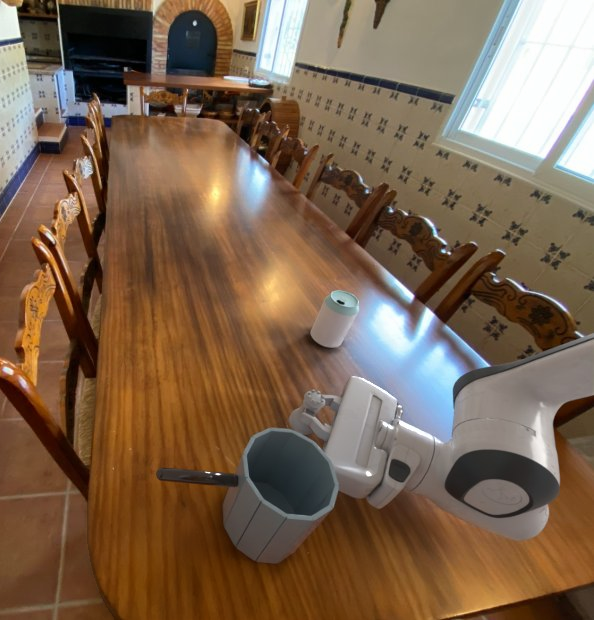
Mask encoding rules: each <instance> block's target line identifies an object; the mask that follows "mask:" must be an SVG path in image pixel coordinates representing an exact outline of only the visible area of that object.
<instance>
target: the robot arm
mask: <svg viewBox="0 0 594 620" xmlns="http://www.w3.org/2000/svg"><path fill="white" fill-rule="evenodd" d="M323 395H324V399H325V405H324V406H328V409H329V410H331V411H333V412H334V414H333V417H332V420H331V423H330V425H329V424H328V423H324V424H323V423H321V421H320V420H319V419H318V418H317V417H316V418H315V412H313V411H310V410H309V409H307V408H304V409H303V411H302V413H301V416H300V418H299V419H300V421H302V422H304V423H305V424H307V425H309V426H310V428H311V429H312V430H313V431H314V432H313V433H314V434H315V435H316V437H317V438H319V439H321V440H323V441H324V443H323V445H322V446H323V447H322V448H321V450H322V451H323V452H324V453H325V454H326V455H327V457H328V458H329V459H330V460H331V462H332V464H333V467H334V470H335V474H336V477H337V480H338V483H339V490H338V492H340V493H342V494H344V495H347V496H349V497H351V498H354V499H360V500H362V499H365V500H366V502H367V503H368V504H369V505H370V506H371V507H373V508H375V509H378V510H380V509H383V508H384V507H386V506H387V505H388V504H390V502H392V501H393V500H394V499H395V498H396V497H397V496H398V495H399V494H400V492H401V491H402V490H403V489H404V490H405V491H407V492H409V493H411V494H413V495H414V494H415V495H418V496H421V497H424V498H426V499H428V500H429V501H430V502H432V503H433V504H434V505H435V506H436V507H437V508H439V509H440V510H441V511H444V512H446V513H448V514H450V515H452V517H455V518H457V519H459V520H461V521H462V522H465V523H467V524H470V525H471V526H473V527H476V528H477V529H480V530H482V531H485V532H488V533H490V534H493V535H495V536H498V537H500V538H504V539H507V540H511V541H514V542H524V541H528V540H530V539H533V538H535V537H537V536H538V535H539V534H540V533H541V532H542V531H543V530H544V528H545V527H546V525H547V523H548V521H549V516H550V507H549V505H548V504H550V503H552V502H553V501H555V499H557V498H558V496H559V494H560V491H561V490H560V489H561V487H560V486H561V475H560V465H559V456H558V452H557V447H556V439H555V431H554V420H555V416H556V415H557V412H558V411H559V409H560V408H561V407H562V406H563V405H564V404H566V403H568V402H571V401H576V400H580V399H583V398H588V397H592V396H594V332H593V333H590V334H587V335H585V336H582V337H579V338H577V339H574V340H570V341H569V342H566V343H564V344H561V345H558V346H555V347H552V348H550V349H549V348H548V349H547V350H544V351H541V352H539V353H536V354H533V355H531V356H528V357H526V358H525V357H524V358H523V359H519V360H516V361H511V362H507V363H501V364H495V365H491V366H485V367H480V368H476V369H473V370H470V371H468V372H466V373H464V374H462V375H461V376H460V377H458V378H457V380H455V382H454V384H453V387H452V406H453V407H452V408H453V414H452V415H453V417H452V426H451V439H449V440H448V441H447V442H443V441H442V440H440V439H439V438H438V437H436V436H435V435H433V434H430V433H429V432H426V431H424V430H422V429H421V428H418V427H416V426H414V425H411V424H410V423H407V422H405V421H403V420H402V418H403V417H402V416H403V415H404V414H403V413H404V408H403V406H401V404H400V403H399V401H398V399H397V398H395V397H394V396H392V394H390V393H388V392H387V391H386V390H384V389H383V388H381V387H379V386H377V385H376V384H374V383H372V382H371V381H368V380H366V379H365V378H363V377H361V376H355V375H354V376H350V377H348V378H347V380H346V382H345V384H344V386H343V387H342V390H341V394H340V396H338V395H335V394H323Z"/></svg>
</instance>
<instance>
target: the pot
mask: <svg viewBox="0 0 594 620" xmlns="http://www.w3.org/2000/svg"><path fill="white" fill-rule="evenodd" d="M155 475H156V478H157V480H158V481H161V482H169V483H170V482H171V483H180V484H189V485H203V486H211V487H212V486H215V487H225V488H228V489H227V491H226V495H225V497H224V499H223V502H222V520H223V527H224V529H225V532H226V533H227V535H228V537H229V539H230V540H231V542H232V545H233V546H234V547H235V548H236V549H237V550H238V551H239V552H241V553H243V554H244V555H245V556H246V557H248V558H249V559H251V560H252V561H253V562H256V563H262V564H263V563H264V564H275V565H276V564H280V563H281V562H283V561H284V560H285V559H287V558H289V557H290V556H291V555H293V554H294V553H295V552H296V551H297V550H298V549H299V548H300V547H301V546H302V544H303V543H304V542H305V541H306V540H307V538H309V536H310V535H311V534H312V533H313V532H314V530H315V529H316V528H318V526H319V525H320V524H321V523H322V522H323V521H324V519H325V518H326V517H327V516H328V515H329V514H330V513H331V511H333V509H334V508H335V504H336V501H337V497H338V493H339V483H338V480H337V477H336V474H335V470H334V467H333V464H332V462H331V460H330V459H329V458H328V457H327V455H326V454H325V453H324V452H323V451H322V448H321V447H320V446H319V445H318V444H317V442H316V441H314V440H313V439H311V438H309V437H307V436H305V435H304V434H300V433H298V432H296V431H295V430H294V429H293V428H282V427H281V428H280V427H268V428H266V429H264V430H262V431H260V432H257V433H255V434H253V435H251V437H250V439H249V441H248V442H247V444H246V446H245V448H244V450H243V452H242V454H241V456H240V459H239V461H238V464H237V466H236V469H235V472H224V471H223V472H222V471H210V470H200V469H188V468H177V467H167V466H166V467H165V466H159V468H158V469H157V470H156V472H155Z"/></svg>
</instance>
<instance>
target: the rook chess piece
mask: <svg viewBox="0 0 594 620" xmlns="http://www.w3.org/2000/svg"><path fill="white" fill-rule="evenodd" d="M324 395H325V394H322V392H321V391H320V390H317V391H316V389H311V390H309V391H307V392H305V394H303V400H302V405H301V406H300V407H298V408H296V409H294V410H292V412H291V414H290V415H289V417H288V423H289V425H290V427H291V429H292V430H294V431H296V432H298V433H300V434H302V435H304V436H305V435H306V436H307V435H311V434H313V433H314V431H313V430H312V429H311V428H310V426H309V425H307V424H305V423H304V422H302V421H300V419H299V418H300V416H301V413H302V411H303V409H304V408H307V409H309V410H310V411H313V412H315V418H316V419H317V414H318V413H319V412H320V411H321V409H322V408H324V407H325V406H326V405H325V399H324Z"/></svg>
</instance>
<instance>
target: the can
mask: <svg viewBox="0 0 594 620" xmlns="http://www.w3.org/2000/svg"><path fill="white" fill-rule="evenodd" d="M359 312H360V301H359V298H358V297H357V296H355V294H353V293H351V292H349V291H346V290H333V291H331V293H330V294H329V295H327V296H326V297H325V298H324V300H323V302H322V305H321V307H320V309H319V311H318V313H317V315H316V319H315V321H314V323H313V325H312V327H311V329H310V336H311V338H312V339H313V341H314V342H316V343H317V344H318V345H320V346H322V347H325V348H330V349H331V348H338V347H340V346H341V345H342V344H343V342H344V340H345V338H346V336H347V334H348V332H349V331H350V330H351V329H350V328H351V327H352V325H353V323H354V321H355V319H356V318H357V315H358V314H359Z"/></svg>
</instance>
